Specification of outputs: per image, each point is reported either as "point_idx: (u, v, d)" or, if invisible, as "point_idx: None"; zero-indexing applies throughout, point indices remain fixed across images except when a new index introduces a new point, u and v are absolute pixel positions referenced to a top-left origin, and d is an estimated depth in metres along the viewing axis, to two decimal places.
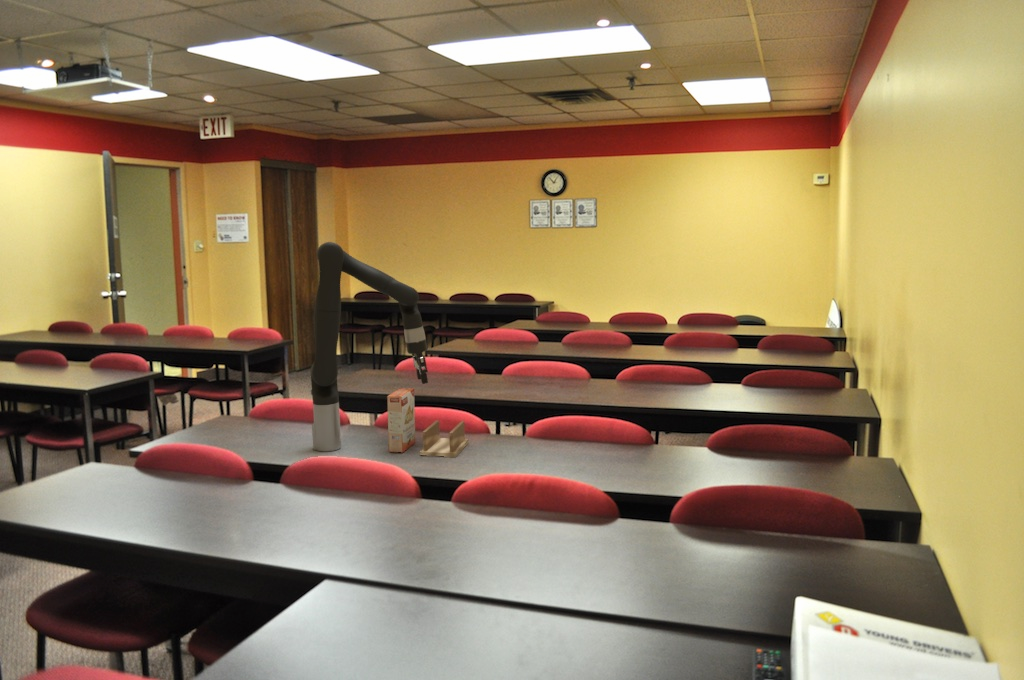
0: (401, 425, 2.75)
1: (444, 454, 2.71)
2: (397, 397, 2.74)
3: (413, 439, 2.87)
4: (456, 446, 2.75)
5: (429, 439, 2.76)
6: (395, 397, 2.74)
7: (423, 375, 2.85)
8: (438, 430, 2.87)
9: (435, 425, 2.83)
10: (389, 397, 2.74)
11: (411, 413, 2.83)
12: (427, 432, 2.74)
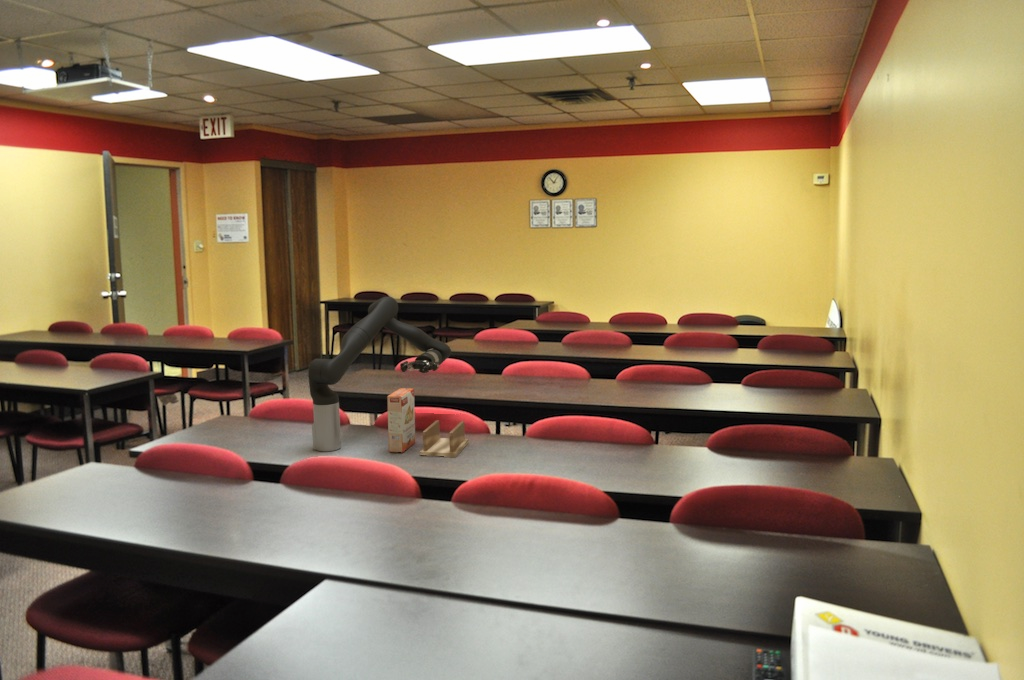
0: (401, 425, 2.75)
1: (444, 454, 2.71)
2: (397, 397, 2.74)
3: (413, 439, 2.87)
4: (456, 446, 2.75)
5: (429, 439, 2.76)
6: (395, 397, 2.74)
7: (429, 367, 2.96)
8: (438, 430, 2.87)
9: (435, 425, 2.83)
10: (389, 397, 2.74)
11: (411, 413, 2.83)
12: (427, 432, 2.74)
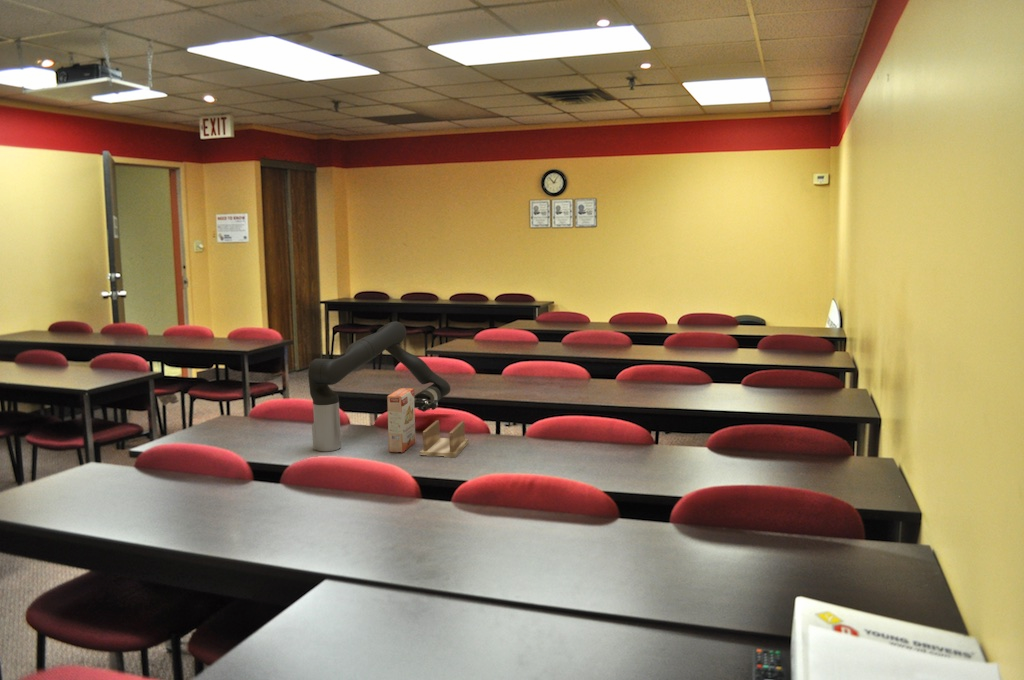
0: (401, 425, 2.75)
1: (444, 454, 2.71)
2: (397, 397, 2.74)
3: (413, 439, 2.87)
4: (456, 446, 2.75)
5: (429, 439, 2.76)
6: (395, 397, 2.74)
7: (428, 406, 2.96)
8: (438, 430, 2.87)
9: (435, 425, 2.83)
10: (389, 397, 2.74)
11: (411, 413, 2.83)
12: (427, 432, 2.74)
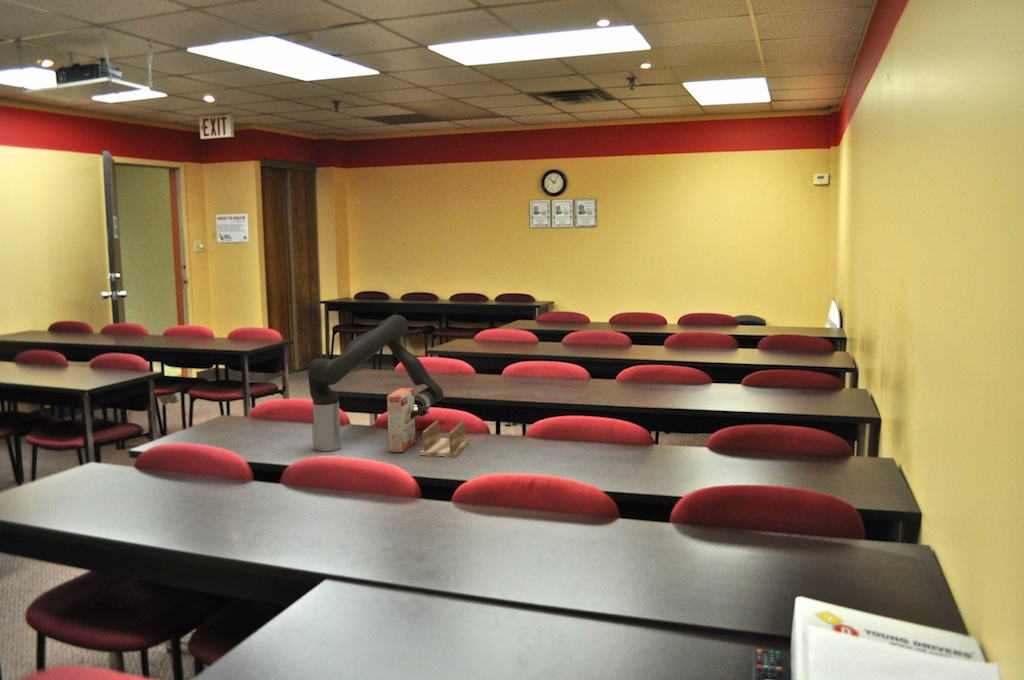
0: (401, 425, 2.75)
1: (444, 454, 2.71)
2: (397, 397, 2.74)
3: (413, 439, 2.87)
4: (456, 446, 2.75)
5: (429, 439, 2.76)
6: (395, 397, 2.74)
7: (416, 413, 2.85)
8: (438, 430, 2.87)
9: (435, 425, 2.83)
10: (389, 397, 2.74)
11: None
12: (427, 432, 2.74)
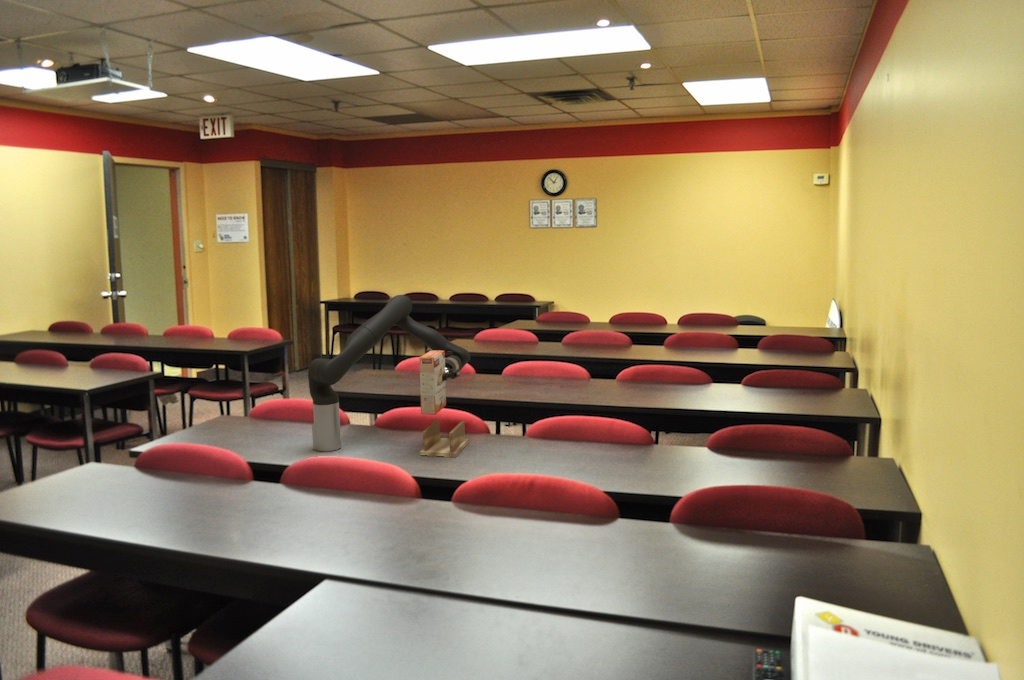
0: (434, 387, 2.71)
1: (444, 454, 2.71)
2: (429, 358, 2.69)
3: (444, 402, 2.83)
4: (456, 446, 2.75)
5: (429, 439, 2.76)
6: (427, 358, 2.69)
7: (448, 375, 2.81)
8: (438, 430, 2.87)
9: (435, 425, 2.83)
10: (421, 358, 2.70)
11: None
12: (427, 432, 2.74)
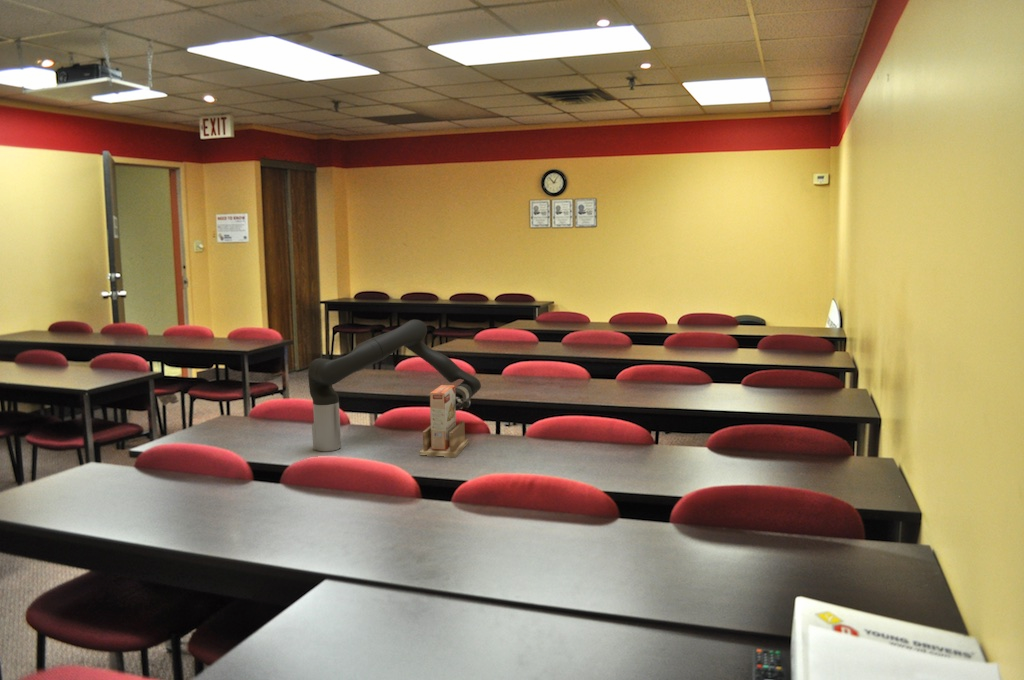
0: (444, 422, 2.72)
1: (444, 454, 2.71)
2: (440, 394, 2.70)
3: None
4: (456, 446, 2.75)
5: (429, 439, 2.76)
6: (438, 394, 2.71)
7: (461, 405, 2.82)
8: None
9: None
10: (432, 394, 2.71)
11: (453, 410, 2.80)
12: (427, 432, 2.74)
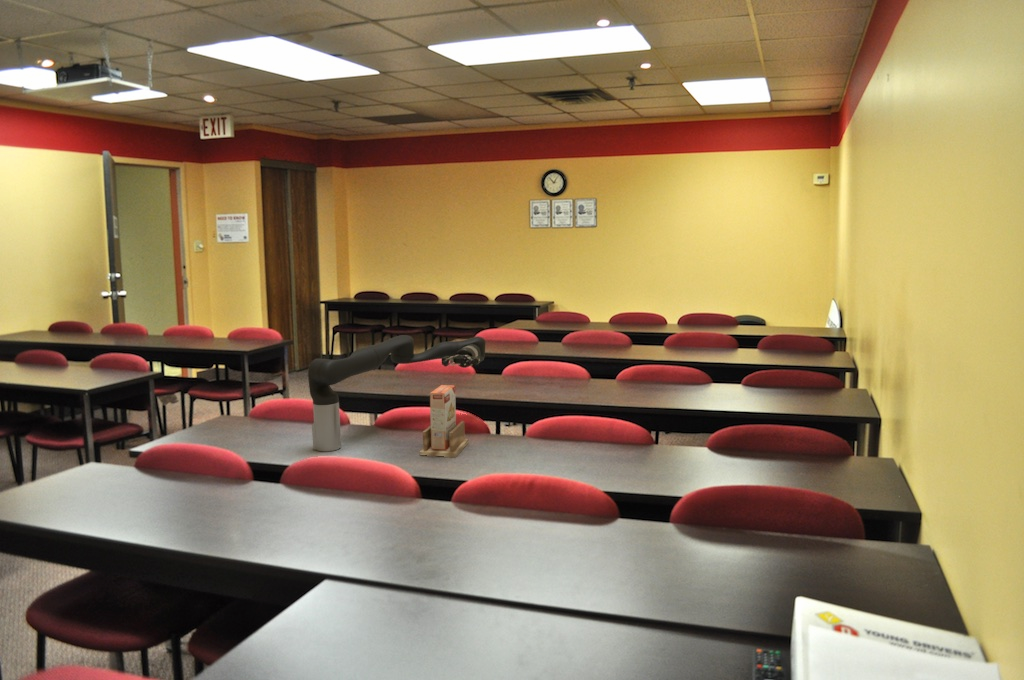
0: (444, 422, 2.72)
1: (444, 454, 2.71)
2: (440, 394, 2.70)
3: None
4: (456, 446, 2.75)
5: (429, 439, 2.76)
6: (438, 394, 2.71)
7: (471, 362, 2.94)
8: None
9: None
10: (432, 394, 2.71)
11: (453, 410, 2.80)
12: (427, 432, 2.74)
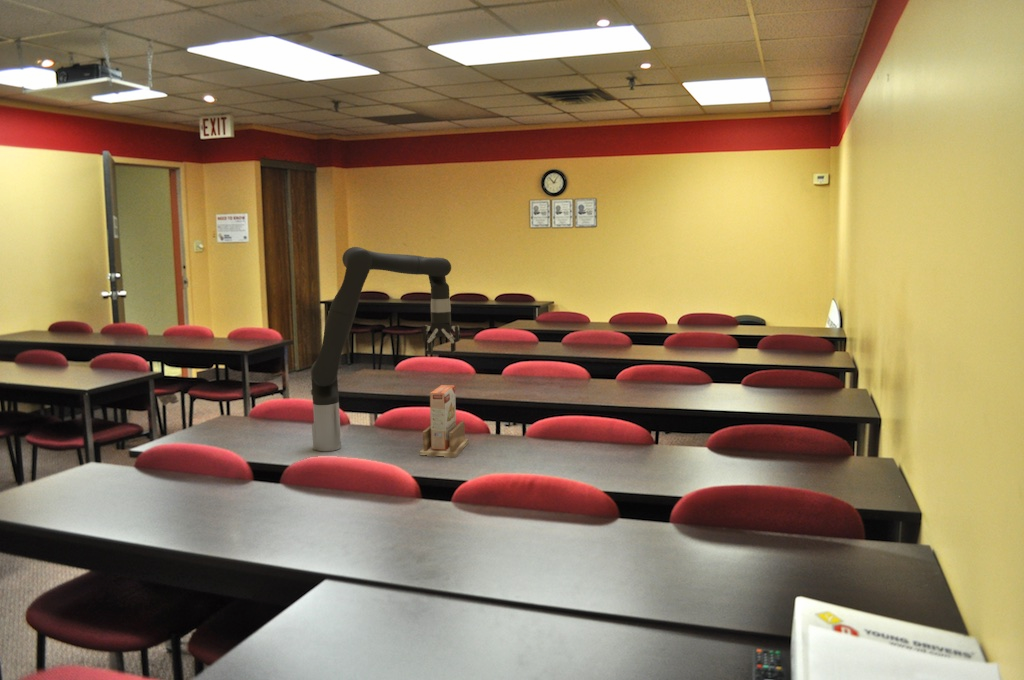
0: (444, 422, 2.72)
1: (444, 454, 2.71)
2: (440, 394, 2.70)
3: None
4: (456, 446, 2.75)
5: (429, 439, 2.76)
6: (438, 394, 2.71)
7: (454, 344, 2.94)
8: None
9: None
10: (432, 394, 2.71)
11: (453, 410, 2.80)
12: (427, 432, 2.74)
